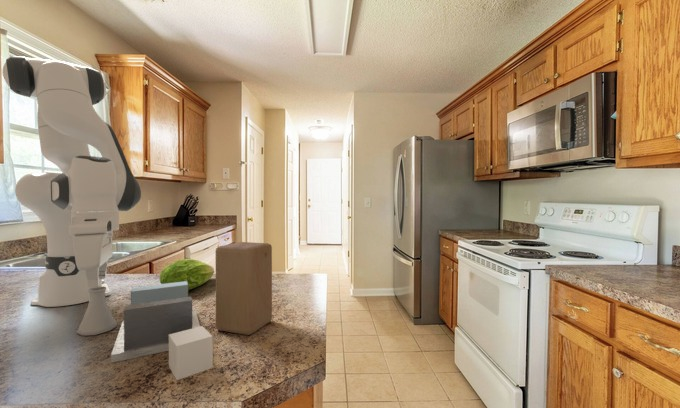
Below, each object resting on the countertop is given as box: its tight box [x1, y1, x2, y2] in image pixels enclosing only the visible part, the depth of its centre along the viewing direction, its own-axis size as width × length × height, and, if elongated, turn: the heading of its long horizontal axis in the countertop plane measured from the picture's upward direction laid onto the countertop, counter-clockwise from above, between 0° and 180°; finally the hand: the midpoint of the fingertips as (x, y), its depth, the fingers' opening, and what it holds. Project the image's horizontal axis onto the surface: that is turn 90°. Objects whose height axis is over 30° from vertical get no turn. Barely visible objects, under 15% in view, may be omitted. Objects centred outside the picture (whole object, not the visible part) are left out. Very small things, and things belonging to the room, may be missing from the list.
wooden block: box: [215, 241, 273, 336], centre depth 75 cm, size 10×10×20 cm
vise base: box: [110, 296, 201, 364], centre depth 70 cm, size 19×16×10 cm
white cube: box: [168, 325, 214, 381], centre depth 57 cm, size 6×6×6 cm
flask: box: [76, 287, 118, 336], centre depth 73 cm, size 7×7×10 cm
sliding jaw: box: [130, 281, 189, 305], centre depth 76 cm, size 4×12×8 cm, turn 120°
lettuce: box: [159, 258, 215, 291], centre depth 110 cm, size 12×24×13 cm
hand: (97, 282), depth 72 cm, fingers open, 8 cm apart
